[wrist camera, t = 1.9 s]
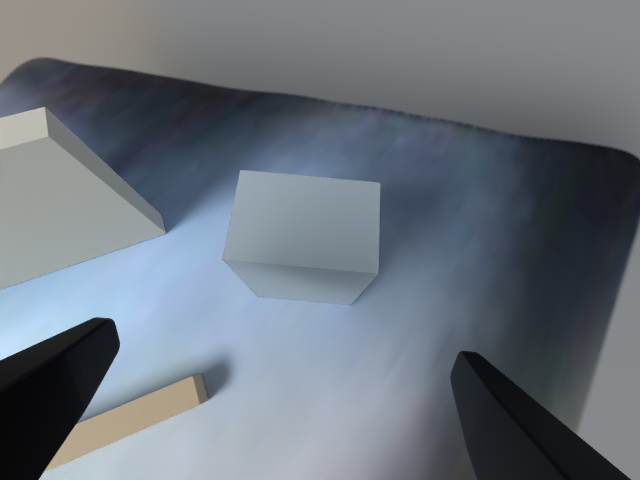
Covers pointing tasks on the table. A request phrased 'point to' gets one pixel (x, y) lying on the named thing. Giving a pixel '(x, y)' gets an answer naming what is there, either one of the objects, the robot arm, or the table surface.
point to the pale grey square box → (304, 236)
